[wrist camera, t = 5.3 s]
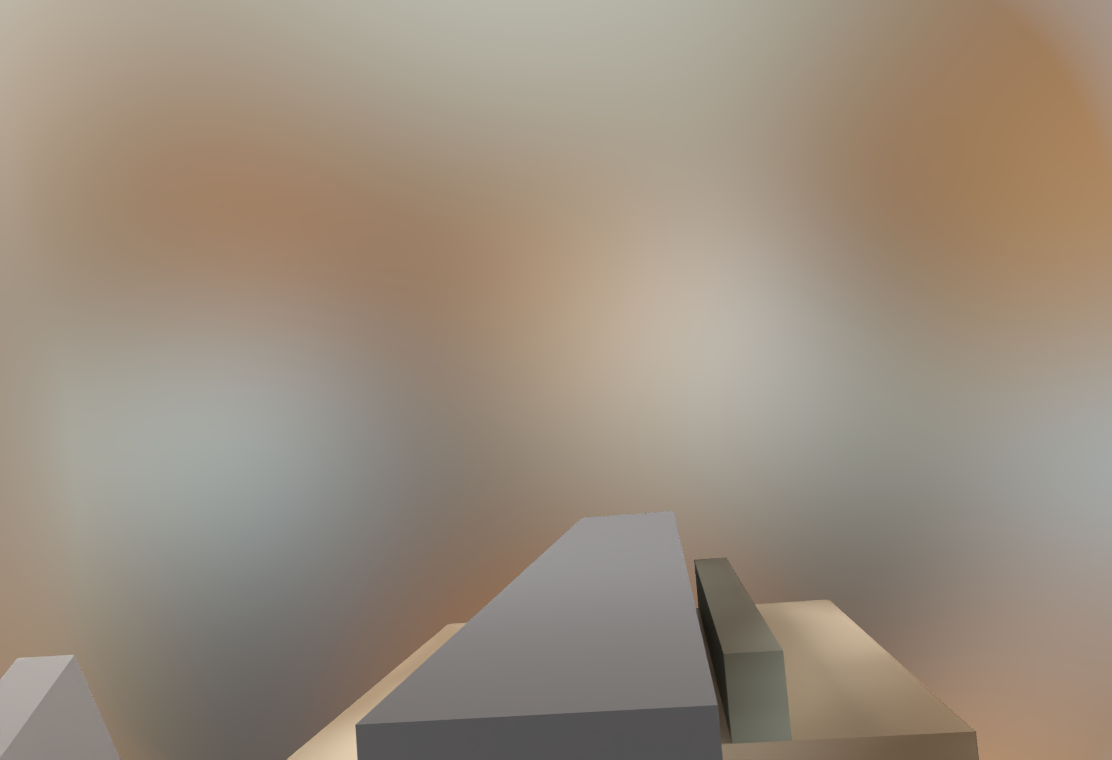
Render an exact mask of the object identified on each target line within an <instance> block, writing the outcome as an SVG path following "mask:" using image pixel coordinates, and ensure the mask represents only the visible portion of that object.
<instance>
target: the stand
mask: <svg viewBox="0 0 1112 760" xmlns="http://www.w3.org/2000/svg"><path fill="white" fill-rule="evenodd" d="M694 563H695V574H696V585H697V595H698V607H699V608H696V612H697V616H698V621H699V625H700V629H701V634H702V638H703V642H704V647H705V651H706V656H707V660H708V664H709V669H710V673H711V677H712V682H713V686H714V691H715V695H716V699H717V704H718V713H719V724H720V734H721V745H722V756H723V760H979V756H978V746H977V739H976V731H975V730H974V729H973V728H971V727H970V726H969V725H968V724H967V723H966V722H965V721H964V720H962V719H961V718H960V717H959V716H958V715H957V714H956V713H954V711H952V710H951V709H950V708H949V707H948V706H947V705H946V704H945V703H943V702H942V701H941V700H940V699H939V698H938V697H937V696H935V694H933V693H932V692H931V691H930V690H929V689H928V688H927V687H926V686H924V685H923V684H922V683H921V682H920V681H919V680H918V679H917V678H915V677H914V676H913V675H912V674H911V673H910V672H909V671H908V670H907V669H905V668H904V667H903V666H902V665H901V664H900V663H899V662H898V661H896V660H895V659H894V658H893V657H892V656H891V655H890V654H889V653H888V652H886V651H885V650H884V649H883V648H882V647H881V646H880V645H879V644H878V643H876V642H875V641H874V640H873V639H872V638H871V637H870V636H869V635H868V634H866V633H865V632H864V631H863V630H862V629H861V628H859V626H857V625H856V624H855V623H854V622H853V621H852V620H851V619H850V618H848V617H847V616H846V615H845V614H844V613H843V612H842V611H841V610H840V609H839V608H837V607H836V606H835V605H834V604H833V603H832V602H831V601H830V600H816V601H801V602H786V603H770V604H754V602H753V600H752V599H751V597H750V596H749V594H748V592H747V591H746V589H745V587H744V586H743V584H742V583H741V581H740V579H739V578H738V576H737V575H736V573H735V571H734V569H733V568H732V567H731V565H730V563H729V561H728V560H727V558H714V559H700V560H694ZM465 624H466V623H458V624H448V625H447V626H446V627H444V628H443V629H442V630H441V631H440V632H439V633H437V634H436V635H435V636H434V637H433V638H431V639H430V640H429V641H428V642H426V643H425V644H424V645H423V646H422V647H421V648H419V649H418V650H417V651H416V652H415V653H413V654H412V655H411V656H410V657H409V658H407V659H406V660H405V661H404V662H403V663H401V664H400V665H399V666H398V667H397V668H396V669H394V670H393V671H392V672H391V673H390V674H388V675H387V676H386V677H385V678H383V680H381V681H380V682H379V683H378V684H376V685H375V686H374V687H373V688H372V689H371V690H369V691H368V692H367V693H366V694H364V695H363V696H362V697H361V698H360V699H358V700H357V701H356V702H355V703H354V704H352V706H350V707H349V708H348V709H346V710H345V711H344V712H343V713H342V714H340V715H339V716H338V717H337V718H336V719H335V720H333V721H332V722H331V723H330V724H329V725H328V726H326V727H325V728H324V729H323V730H321V731H320V732H319V733H318V734H317V735H316V736H314V737H313V738H312V739H311V740H309V741H308V742H307V743H306V744H305V745H303V746H302V747H301V748H300V749H299V750H297V751H296V752H295V753H294V754H293V755H292V756H290V757H289V758H288V759H287V760H358V759H357V744H356V728H355V725H356V724H357V723H358V722H359V721H360V720H361V719H362V718H363V717H364V716H365V715H367V714H368V713H369V712H370V711H371V710H372V709H373V708H374V707H375V706H376V705H377V704H379V703H380V702H381V701H382V700H383V699H384V698H385V697H386V696H387V695H388V694H390V693H391V692H392V691H393V690H394V689H395V688H396V687H397V686H398V685H399V684H401V683H402V682H403V681H404V680H405V679H406V678H407V677H408V676H409V675H410V674H411V673H413V672H414V671H415V670H416V669H417V668H418V667H419V666H420V665H421V664H422V663H424V662H425V661H426V660H427V659H428V658H429V657H430V656H431V655H432V654H433V653H435V652H436V651H437V650H438V649H439V648H440V647H441V646H442V645H443V644H444V643H445V642H447V641H448V640H449V639H450V638H451V637H452V636H453V635H454V634H455V633H456V632H458V631H459V630H460V629H461V628H462V627H463V626H464V625H465Z"/></svg>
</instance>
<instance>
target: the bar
mask: <svg viewBox="0 0 1112 760" xmlns="http://www.w3.org/2000/svg"><path fill="white" fill-rule="evenodd" d="M355 728H356V744H357V759H358V760H723V756H722V745H721V734H720V724H719V713H718V704H717V699H716V695H715V691H714V686H713V682H712V677H711V673H710V669H709V664H708V660H707V656H706V651H705V647H704V642H703V638H702V634H701V629H700V625H699V621H698V616H697V612H696V607H695V603H694V599H693V594H692V590H691V586H690V581H689V577H688V572H687V568H686V564H685V559H684V555H683V550H682V547H681V542H680V537H679V533H678V529H677V524H676V520H675V516H674V512H673V511H667V512H654V513H641V514H627V515H614V516H602V517H601V516H600V517H587V518H582V519H581V520H579V521H578V522H577V523H576V524H575V525H574V526H573V527H572V528H571V529H570V530H568V531H567V532H566V533H565V534H564V535H563V536H562V537H561V538H560V539H558V540H557V541H556V542H555V543H554V544H553V545H552V546H551V547H550V548H549V549H547V550H546V551H545V552H544V553H543V554H542V555H541V556H540V557H539V558H538V559H537V560H536V561H534V562H533V563H532V564H531V565H530V566H529V567H528V568H527V569H526V570H525V571H523V573H521V574H520V575H519V576H518V577H517V578H516V579H515V580H513V581H512V582H511V583H510V584H509V585H508V586H507V587H506V588H505V589H504V590H503V591H501V593H499V594H498V595H497V596H496V597H495V598H494V599H493V600H492V601H491V602H489V603H488V604H487V605H486V606H485V607H484V608H483V609H482V610H481V611H479V612H478V613H477V614H476V615H475V616H474V617H473V618H472V619H471V620H470V621H469V622H467V623H466V624H465V625H464V626H463V627H462V628H461V629H460V630H459V631H458V632H456V633H455V634H454V635H453V636H452V637H451V638H450V639H449V640H448V641H447V642H445V643H444V644H443V645H442V646H441V647H440V648H439V649H438V650H437V651H436V652H435V653H433V654H432V655H431V656H430V657H429V658H428V659H427V660H426V661H425V662H424V663H422V664H421V665H420V666H419V667H418V668H417V669H416V670H415V671H414V672H413V673H411V674H410V675H409V676H408V677H407V678H406V679H405V680H404V681H403V682H402V683H401V684H399V685H398V686H397V687H396V688H395V689H394V690H393V691H392V692H391V693H390V694H388V695H387V696H386V697H385V698H384V699H383V700H382V701H381V702H380V703H379V704H377V705H376V706H375V707H374V708H373V709H372V710H371V711H370V712H369V713H368V714H367V715H365V716H364V717H363V718H362V719H361V720H360V721H359V722H358V723H357V724H356V725H355Z"/></svg>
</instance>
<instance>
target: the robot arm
mask: <svg viewBox="0 0 1112 760" xmlns="http://www.w3.org/2000/svg"><path fill="white" fill-rule="evenodd" d="M0 760H120V758H119V755H118V753H117V751H116V748H115V746H114V744H113V742H112V739H111V737H110V735H109V733H108V730H107V728H106V726H105V724H104V721H103V719H102V717H101V714H100V712H99V710H98V707H97V705H96V703H95V701H94V699H93V696H92V694H91V691H90V690H89V687H88V685H87V682H86V680H85V678H84V675H83V673H82V671H81V669H80V666H79V664H78V662H77V660H76V657H75V655H64V656H47V657H32V658H31V657H30V658H17V659H16V661H15V662H14V663H13V664H12V666H11V667H10V668H9V669H8V671H7V672H6V673H5V674H4V676H3V677H2V678H1V680H0Z"/></svg>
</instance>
